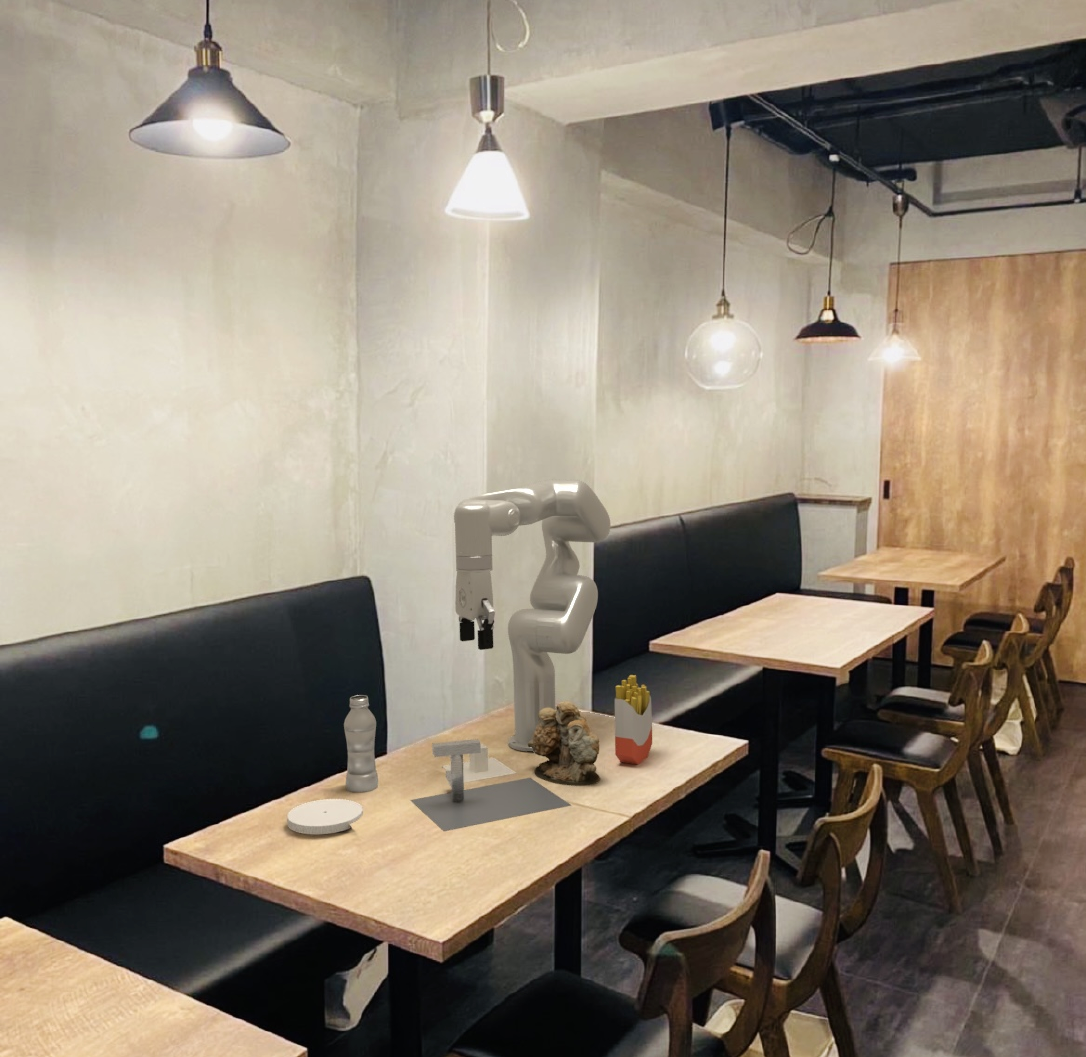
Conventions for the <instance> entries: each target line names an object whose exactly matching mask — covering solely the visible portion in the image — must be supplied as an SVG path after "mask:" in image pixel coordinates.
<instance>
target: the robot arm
mask: <svg viewBox="0 0 1086 1057" xmlns="http://www.w3.org/2000/svg"><path fill="white" fill-rule="evenodd" d="M453 514H454V515H453V520H454V534H455V535H454V536H455V537H454V540H455V567H456V570H455V571H456V578H455V597H454V598H455V600H454V601H455V602H454V604H455V605H454V606H455V607H454V608H455V612H456V614H457V615H458V622H459V640H460V641H461V642H468V641H469V642H470V641H475V639H476V636H475V635H476V634H475V633H476V632H475V620H476V622H477V626H478V629H479V630H477V650H480V651H482V650H491V649H493V648H494V628H495V627H494V623H495V615H496V611H495V609H494V594H493V582H492V575H491V574H492V573H491V571H493V543H492V542H493V541H492V540H493V538H492V537H494V536H495V537H497V536H499V537H502V536H503V537H504V536H509V535H512V534H513V533H515V532H516V531H517V529H518V528H519V526H520V527H521V526H529V525H532V524H535V523H537V522H541V530H542V536H543V541H544V547H545V558H544V561H543V564H542V567H541V568H540V570H539V572H538V575H537V576H536V577H537V578H536V579H535V581H534V584H533V585H532V588H531V591H530V596H529V602H530V605H531V607H532V608H524V609H519V610H517V611H516V612H514V613H512V615H511V616H510V618H509V621H508V624H507V633H508V639H509V644H510V649H511V655H512V664H513V665H512V668H513V669H512V670H513V671H512V672H513V704H514V705H513V714H514V716H513V717H514V735H511V736H510V737H509V738H508V746H509V748H511V749H514V750H517V751H520V750H521V751H520V752H527V751H533V748H532V747H529V746H528V742H530V741H533V740H534V739H533V735H534V732H535V731H536V727H537V726H538V724H539V720H538V718H539V717H538V714H539V711H540V710H542V709H544V708H553V709H554V710H556V673H555V672H556V671H555V666H554V663H553V660H552V658H551V657H550V655H549V653H552V654H553V653H554V654H563V655H564V654H565V655H568V654H569V655H570V654H573V653H575V652H576V651H577V650H578V649H579V648H580V646H581V645H582V643H583V641H584V638H585V636H586V633H587V631H588V629H589V626H590V624H591V621H592V619H593V617H594V615H595V610H596V609H597V605H598V600H599V599H598V598H599V591H598V587H597V584H596V582H595V581H594V579H593V578H591V577H589V576H588V575H581V574H580V575H579V574H578V573H579V569H580V561H579V558H578V556H577V555H576V552H575V551H574V550H573V548H572V547H571V545H570V542H575V543H601V542H603V541H604V540H606V539H607V538H608V536H609V534H610V532H611V519H610V515H609V512H608V510H607V509H606V508H605V506H604V504H603V503H602V501H601V500H600V499H599V497H598V496H597V494H596V493H595V491H594V490H593V489H592V488H591V487H590V486H589V484H587V483H586V482H584V481H583V480H580V479H579V480H578V479H546V480H541V481H538V482H535V483H531V484H528V485H526V486H523V487H522V486H521V487H518V488H511V489H506V490H501V491H495V492H489V493H488V492H487V493H483V494H478V495H475V496H472V497H468V498H465V499H463V500H462V501H460V502H459V503H458V505H457V506H456V507H455V510H454V513H453Z"/></svg>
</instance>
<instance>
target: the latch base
mask: <svg viewBox="0 0 1086 1057" xmlns="http://www.w3.org/2000/svg"><path fill="white" fill-rule="evenodd" d="M410 801H411V803H412V804H414V806H415V807H417V808H418V809H419V810H421V812H422V813H423V814H424V815H425V816H426V817H428V818H429V819H430V820H431V821H432V822H433V823H434V824H436V825H437V826H438V828H439V829H440V830H442V831H443V832H448V831H453V830H457V829H464V828H468V827H473V826H478V825H483V824H487V823H493V822H496V821H501V820H506V819H511V818H516V817H517V818H518V817H521V816H527V815H530V814H536V813H540V812H541V813H542V812H547V811H552V810H555V809H560V808H565V807H572V805H571V803H569V802H567V801H566V800H565V799H564V798H561V797H560V796H559V795H557V794H555V793H554V792H553V791H552V790H550V789H548V788H547V787H545V786H543V785H542V784H540V783H539V782H537V781H536V780H535V779H533V778H531V777H526V778H522V779H516V780H510V781H506V782H505V781H504V782H500V783H494V784H488V785H484V786H478V787H473V788H468V789H467V788H466V789H464V800H463V801H453V800H452V791H451V792H446V793H445V792H444V793H440V794H435V795H431V796H426V797H419V798H413V799H410Z"/></svg>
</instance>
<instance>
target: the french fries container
mask: <svg viewBox="0 0 1086 1057" xmlns="http://www.w3.org/2000/svg"><path fill="white" fill-rule="evenodd" d="M640 686H641V687H639V684H638V683H637V675H636V674H634V675H633V674H630V675H629V676H628V677H627V680H626V679H623V680H621V685H619V684H618V685H616V686H615V697H614V743H615V744H614V746H615V747H614V752H615V753H614V754H615V756H616V757H617V759H618V760H619V762H620V763H625V764H631V763H632V765H640V764H641V763H642V762H643V761H645V760H646V759H648V757H649V754H650V752H651V749H652V745H653V718H652V713H653V712H652V697H651V695H650V691H649V690H647V688H648V686H646V685H645V684H641V685H640Z"/></svg>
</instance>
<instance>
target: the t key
mask: <svg viewBox="0 0 1086 1057" xmlns="http://www.w3.org/2000/svg"><path fill="white" fill-rule="evenodd" d="M481 744H482V742H481V741H480V740H479V739H478V738H475V739H465V740H455V741H454V740H453V741H445V742H435V743H434V742H433V743H432V744H431V745H432V746H431V747H432V749H431V750H432V755H433V757H434V758H441V757H442V758H443V757H450V765H451V770H450V771H447V770H445V778H446V780H447V782H448V784H449V787H450V788H451V792H452V800H453V801H463V800H464V790H465V785H464V784H465V783H464V773H463V763H464V755H469V754H473V753H481Z"/></svg>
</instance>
